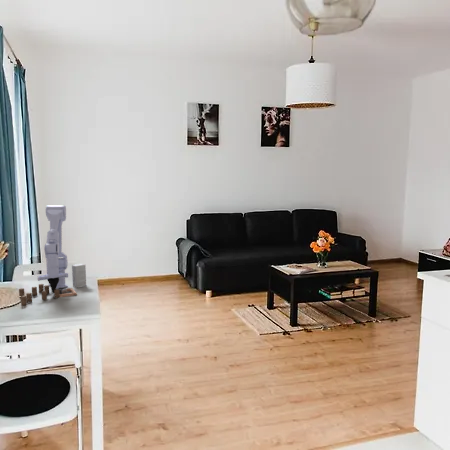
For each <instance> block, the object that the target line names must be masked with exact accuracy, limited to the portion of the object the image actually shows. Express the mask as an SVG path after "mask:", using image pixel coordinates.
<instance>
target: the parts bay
mask: <svg viewBox="0 0 450 450" xmlns="http://www.w3.org/2000/svg"><path fill="white" fill-rule="evenodd" d="M66 289H67V293H66V294H60V298H65V297H72V296H73V297H74V296H77V294H78V293H77V292H76V291H75V290H74V288H72V287H68V288H67V287H66Z"/></svg>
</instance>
